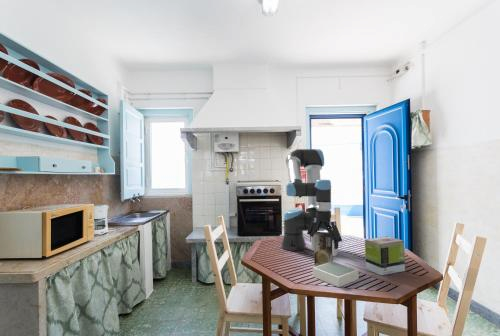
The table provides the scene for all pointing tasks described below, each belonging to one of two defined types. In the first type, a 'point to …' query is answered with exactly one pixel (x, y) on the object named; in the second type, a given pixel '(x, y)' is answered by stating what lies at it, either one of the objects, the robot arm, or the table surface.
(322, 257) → the coffee box
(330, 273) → the block
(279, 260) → the table surface
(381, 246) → the tea box
